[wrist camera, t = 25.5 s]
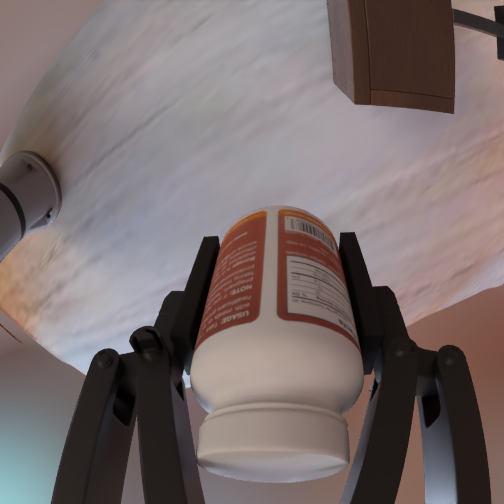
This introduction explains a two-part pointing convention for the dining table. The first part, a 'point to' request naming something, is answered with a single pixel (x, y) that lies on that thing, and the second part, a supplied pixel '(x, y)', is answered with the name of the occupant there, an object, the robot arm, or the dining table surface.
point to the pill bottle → (276, 352)
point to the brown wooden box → (401, 50)
